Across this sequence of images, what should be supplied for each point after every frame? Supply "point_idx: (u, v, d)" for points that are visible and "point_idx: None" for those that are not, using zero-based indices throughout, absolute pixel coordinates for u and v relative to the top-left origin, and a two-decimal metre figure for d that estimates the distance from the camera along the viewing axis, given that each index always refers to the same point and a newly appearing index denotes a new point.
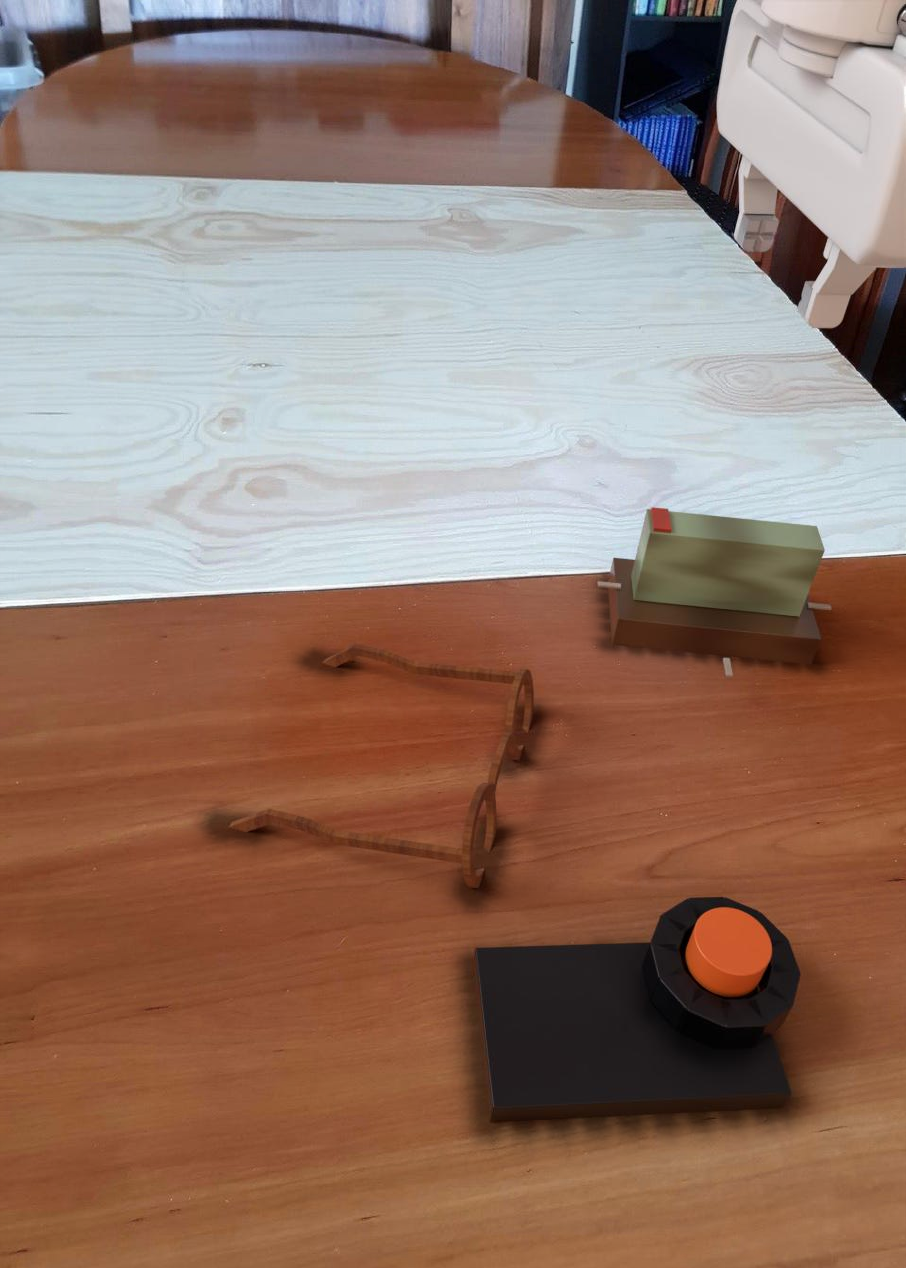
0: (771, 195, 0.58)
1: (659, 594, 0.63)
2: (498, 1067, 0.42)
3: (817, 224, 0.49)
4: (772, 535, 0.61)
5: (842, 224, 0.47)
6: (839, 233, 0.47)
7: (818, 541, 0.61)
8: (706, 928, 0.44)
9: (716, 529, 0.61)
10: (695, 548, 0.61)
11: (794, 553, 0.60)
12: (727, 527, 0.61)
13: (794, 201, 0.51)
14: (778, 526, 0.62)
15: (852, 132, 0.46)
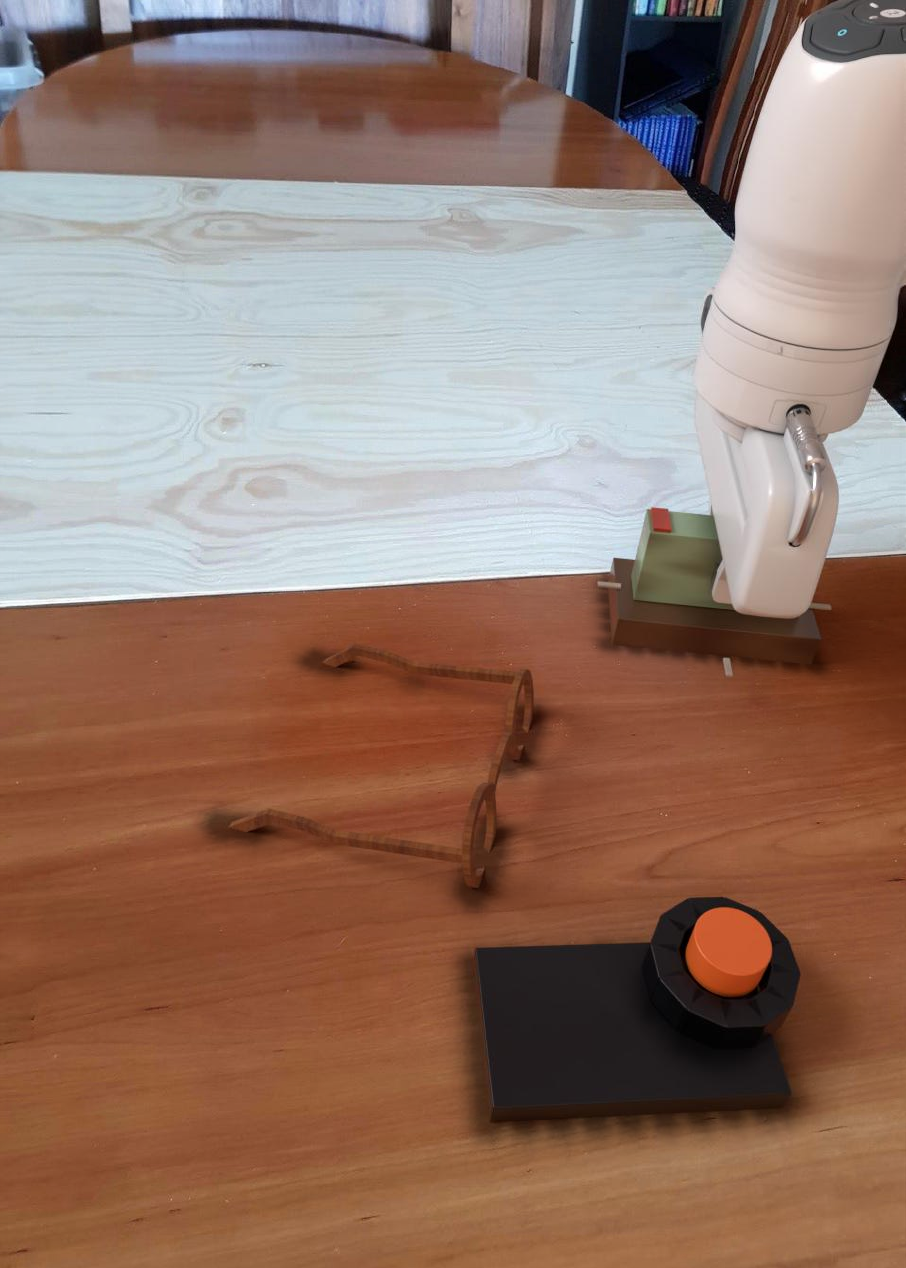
0: None
1: (659, 594, 0.63)
2: (498, 1067, 0.42)
3: None
4: None
5: (730, 572, 0.54)
6: (728, 578, 0.54)
7: None
8: (706, 928, 0.44)
9: (716, 529, 0.61)
10: (695, 548, 0.61)
11: None
12: None
13: (716, 527, 0.58)
14: None
15: (746, 497, 0.53)
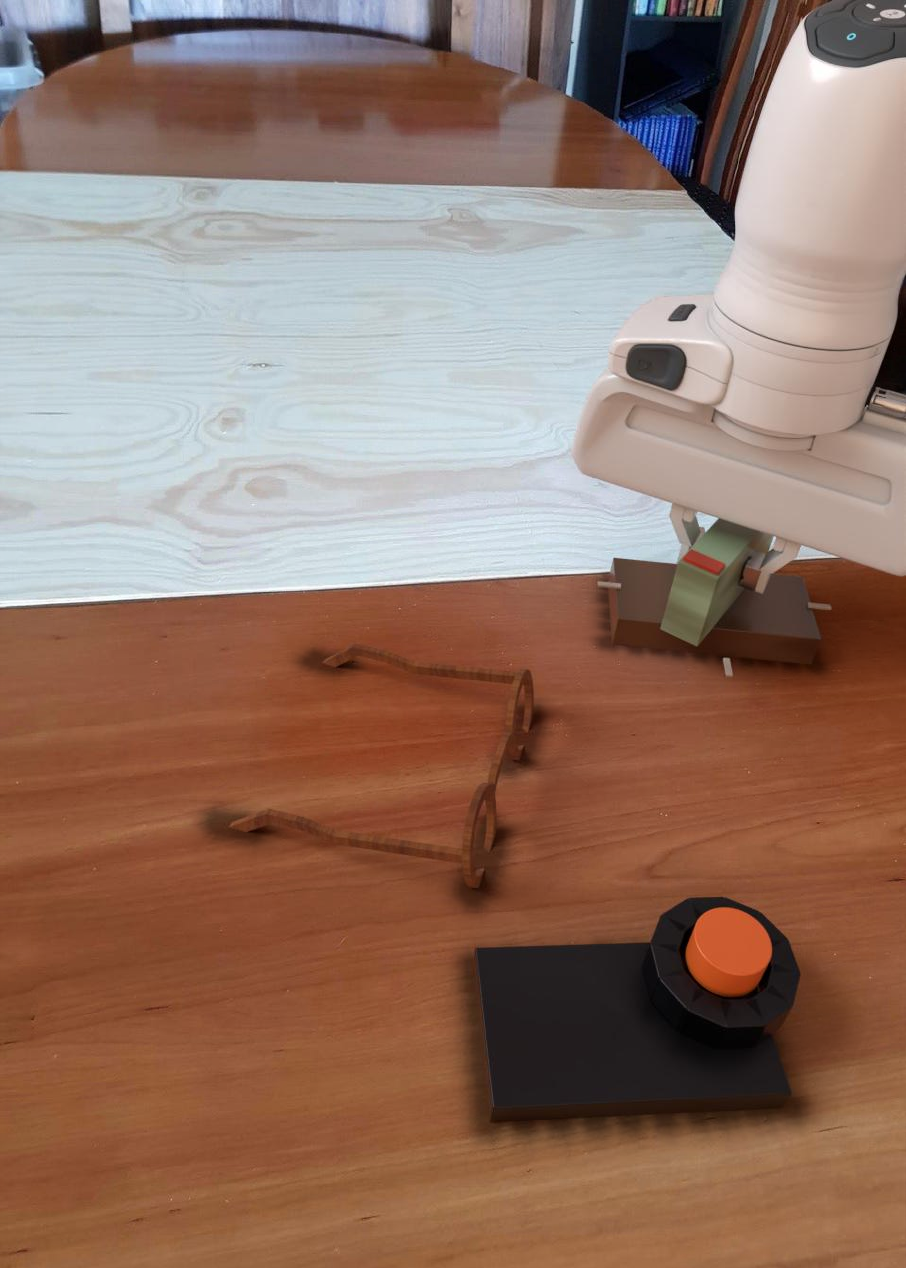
0: (694, 519, 0.63)
1: (710, 625, 0.61)
2: (498, 1067, 0.42)
3: (823, 551, 0.58)
4: None
5: (873, 553, 0.56)
6: (870, 558, 0.56)
7: None
8: (706, 928, 0.44)
9: (731, 539, 0.60)
10: (735, 566, 0.60)
11: None
12: (731, 531, 0.61)
13: (773, 534, 0.58)
14: None
15: (854, 487, 0.55)
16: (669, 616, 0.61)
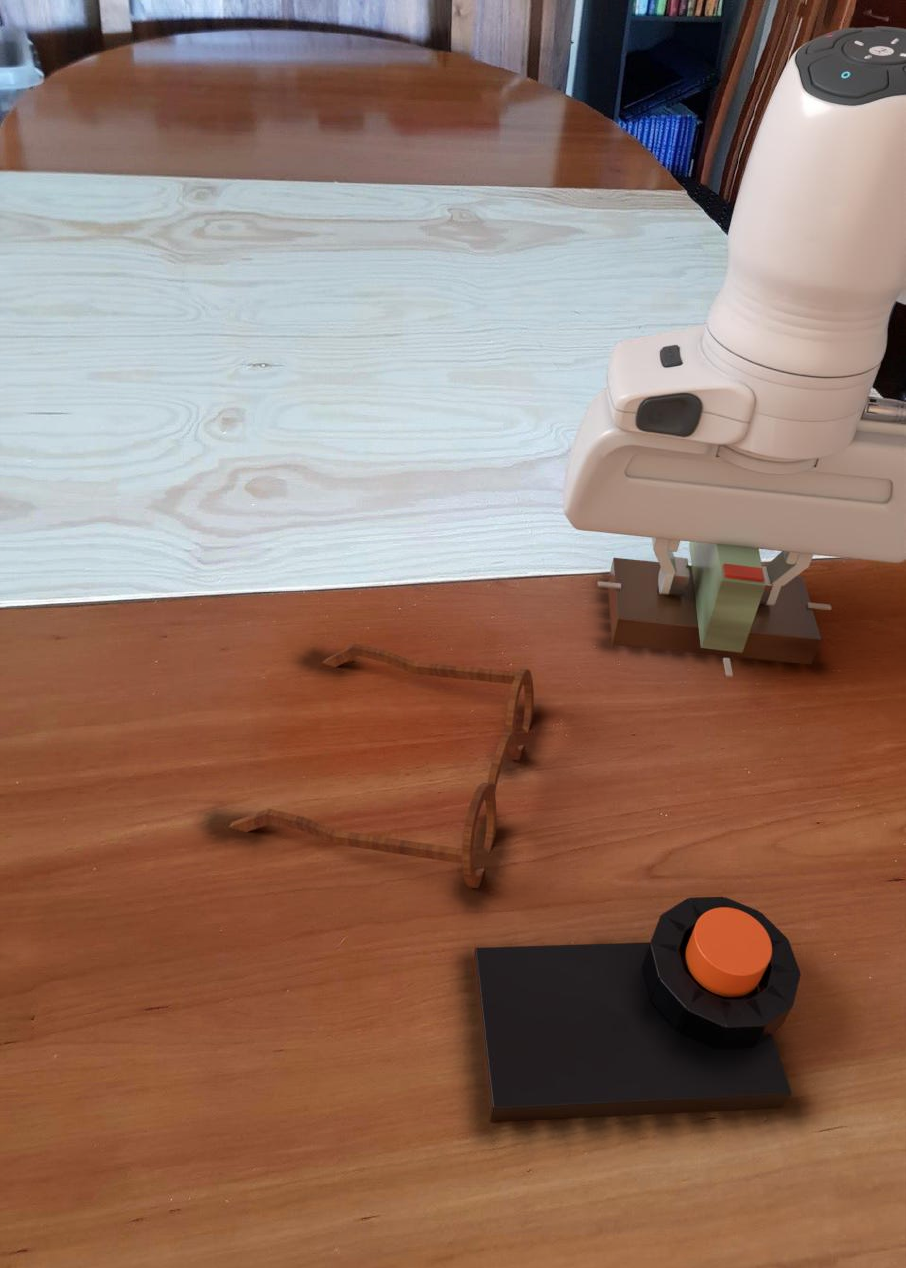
0: None
1: None
2: (498, 1067, 0.42)
3: (827, 555, 0.60)
4: None
5: (875, 547, 0.59)
6: (872, 553, 0.59)
7: None
8: (706, 928, 0.44)
9: None
10: None
11: None
12: None
13: (778, 549, 0.60)
14: None
15: (856, 492, 0.57)
16: (711, 633, 0.60)
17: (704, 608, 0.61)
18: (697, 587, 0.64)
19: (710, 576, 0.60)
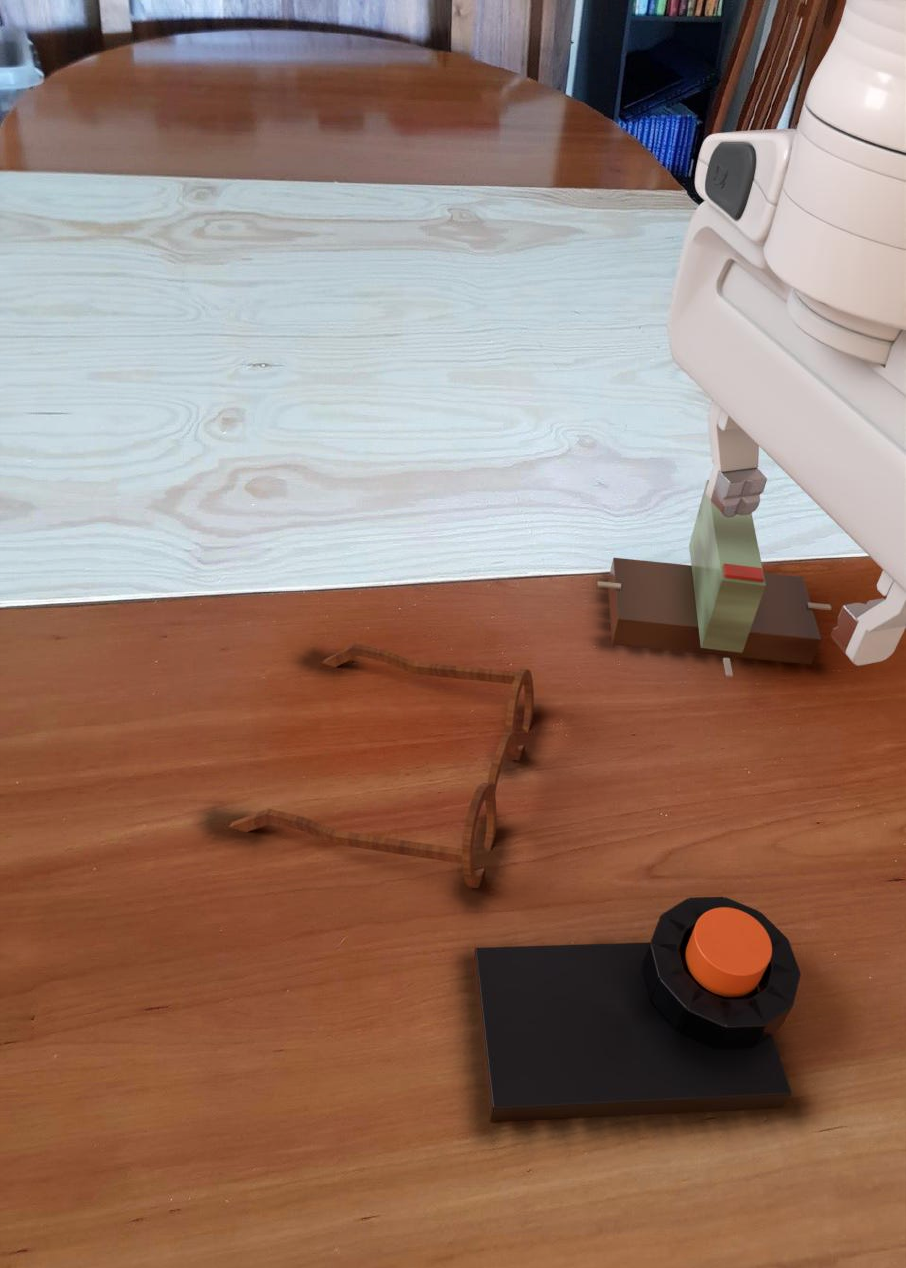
0: (752, 444, 0.44)
1: None
2: (498, 1067, 0.42)
3: (870, 555, 0.35)
4: None
5: None
6: None
7: None
8: (706, 928, 0.44)
9: (741, 540, 0.60)
10: None
11: None
12: (734, 532, 0.61)
13: (823, 507, 0.37)
14: None
15: None
16: (711, 633, 0.60)
17: (704, 608, 0.61)
18: (697, 587, 0.64)
19: (710, 576, 0.60)
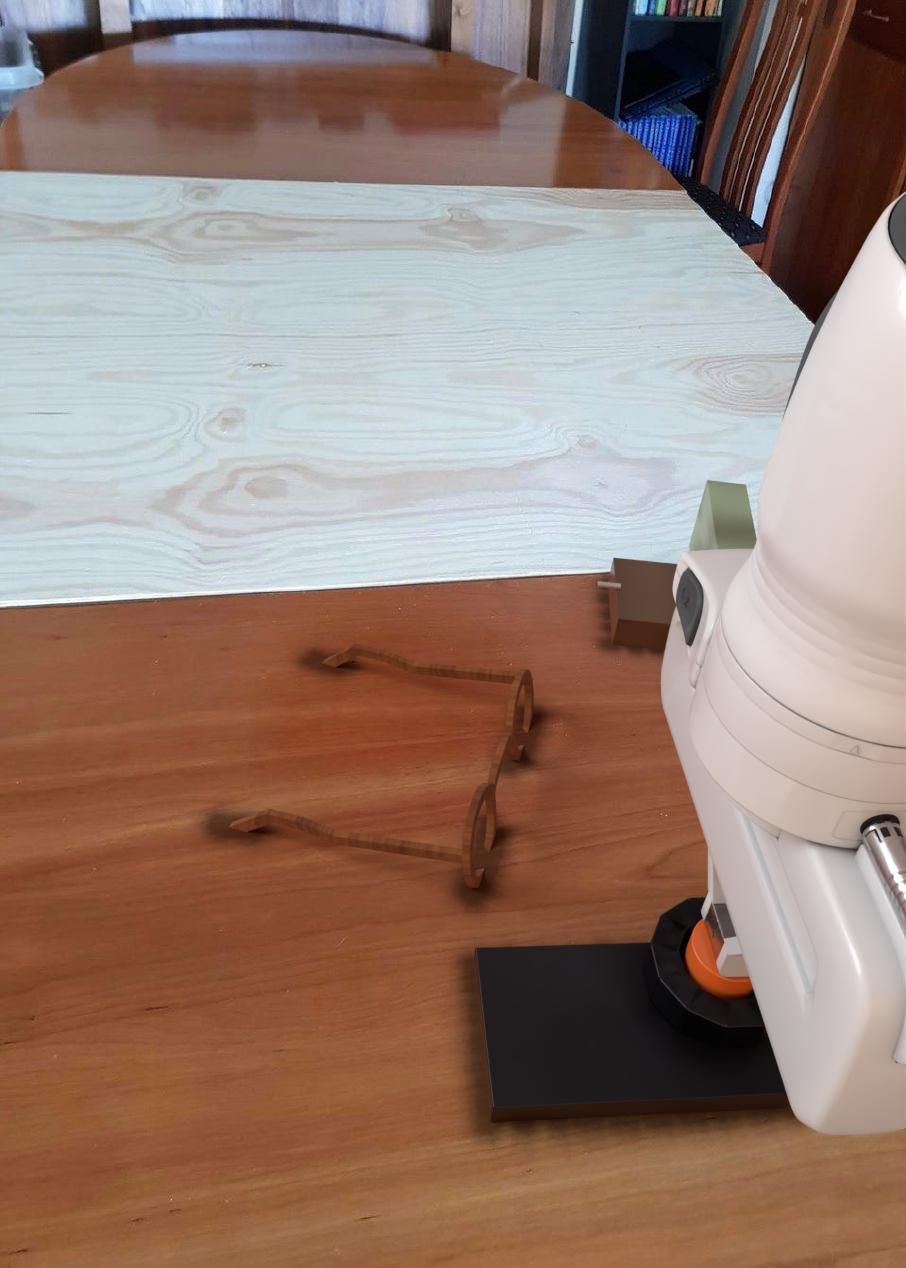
0: None
1: None
2: (498, 1067, 0.42)
3: None
4: (736, 508, 0.63)
5: (781, 1050, 0.34)
6: (778, 1055, 0.34)
7: (733, 484, 0.65)
8: (703, 934, 0.44)
9: (741, 540, 0.60)
10: None
11: None
12: (734, 532, 0.61)
13: (733, 925, 0.39)
14: (718, 501, 0.63)
15: (798, 937, 0.34)
16: None
17: None
18: None
19: None
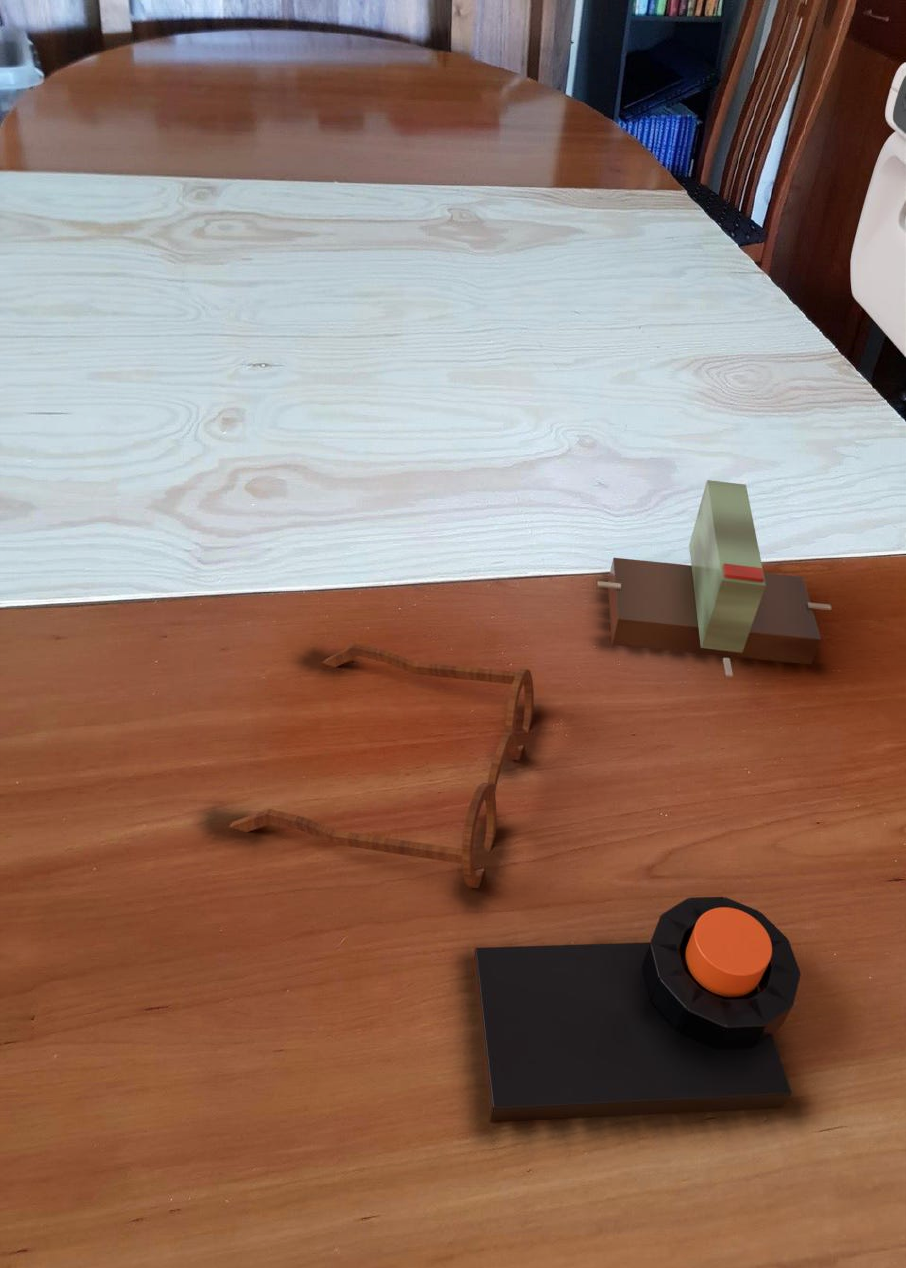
0: None
1: None
2: (498, 1067, 0.42)
3: None
4: (736, 508, 0.63)
5: None
6: None
7: (733, 484, 0.65)
8: (706, 928, 0.44)
9: (741, 540, 0.60)
10: None
11: None
12: (734, 532, 0.61)
13: None
14: (718, 501, 0.63)
15: None
16: (711, 633, 0.60)
17: (704, 608, 0.61)
18: (697, 587, 0.64)
19: (710, 576, 0.60)
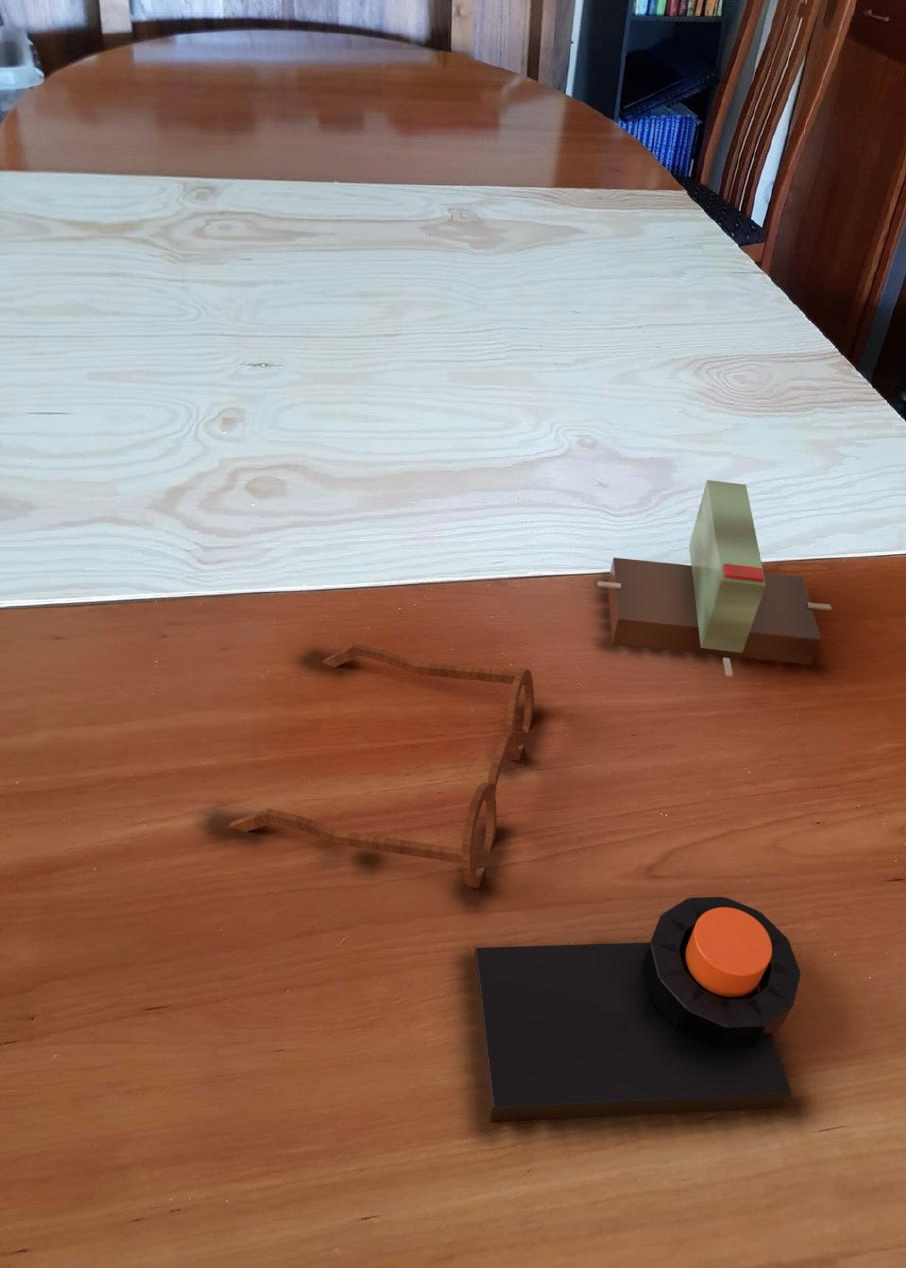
0: None
1: None
2: (498, 1067, 0.42)
3: None
4: (736, 508, 0.63)
5: None
6: None
7: (733, 484, 0.65)
8: (706, 928, 0.44)
9: (741, 540, 0.60)
10: None
11: None
12: (734, 532, 0.61)
13: None
14: (718, 501, 0.63)
15: None
16: (711, 633, 0.60)
17: (704, 608, 0.61)
18: (697, 587, 0.64)
19: (710, 576, 0.60)
